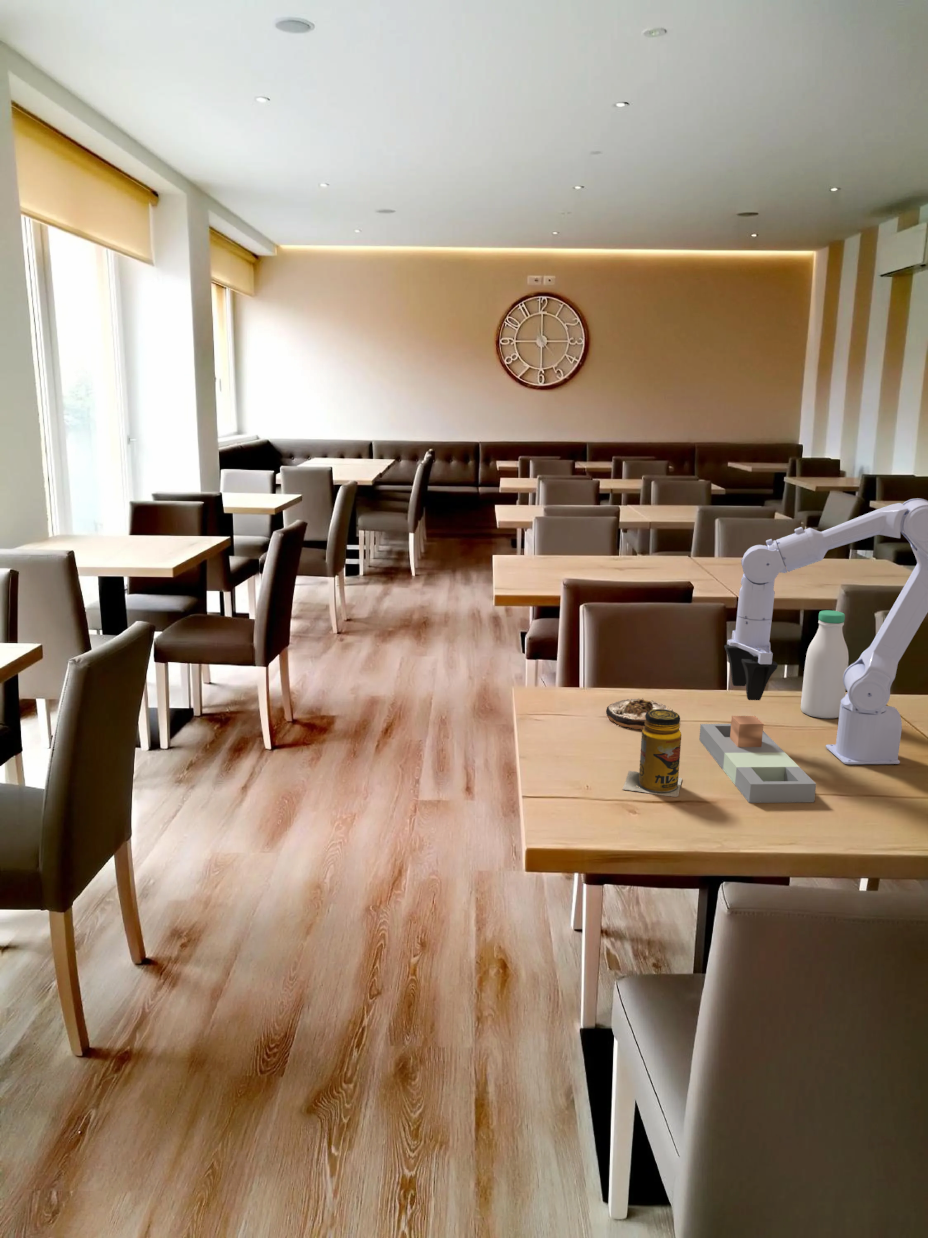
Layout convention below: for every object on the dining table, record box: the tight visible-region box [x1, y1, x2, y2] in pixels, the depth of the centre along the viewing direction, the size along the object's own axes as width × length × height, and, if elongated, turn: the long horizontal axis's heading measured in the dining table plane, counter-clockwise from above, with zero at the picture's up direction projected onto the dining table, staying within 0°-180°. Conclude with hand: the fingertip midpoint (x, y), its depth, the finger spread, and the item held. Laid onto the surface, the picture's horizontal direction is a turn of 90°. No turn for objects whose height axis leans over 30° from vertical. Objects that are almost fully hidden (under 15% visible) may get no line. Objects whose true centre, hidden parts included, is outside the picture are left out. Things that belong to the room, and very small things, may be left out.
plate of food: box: [605, 697, 675, 731], centre depth 176 cm, size 15×15×4 cm
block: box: [730, 715, 764, 747], centre depth 157 cm, size 4×4×4 cm
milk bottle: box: [800, 609, 849, 720], centre depth 179 cm, size 8×8×20 cm
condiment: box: [622, 708, 683, 798], centre depth 146 cm, size 7×8×12 cm
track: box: [699, 723, 817, 804], centre depth 154 cm, size 10×26×3 cm, turn 3°
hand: (746, 692), depth 162 cm, fingers open, 7 cm apart
